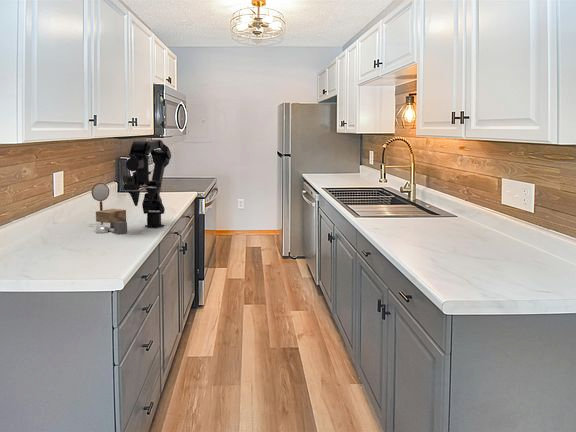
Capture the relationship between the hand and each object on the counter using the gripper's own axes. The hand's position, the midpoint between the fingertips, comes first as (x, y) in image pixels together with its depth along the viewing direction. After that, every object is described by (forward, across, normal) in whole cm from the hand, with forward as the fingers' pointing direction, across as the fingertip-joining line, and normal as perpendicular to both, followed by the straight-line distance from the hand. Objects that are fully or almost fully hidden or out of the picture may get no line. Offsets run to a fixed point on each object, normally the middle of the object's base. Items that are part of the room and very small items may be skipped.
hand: (143, 204), depth 241 cm
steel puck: (+12, +11, -14) cm, 22 cm away
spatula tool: (+12, +8, -10) cm, 18 cm away
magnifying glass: (+12, -4, -29) cm, 32 cm away
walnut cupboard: (+12, +3, -16) cm, 20 cm away
